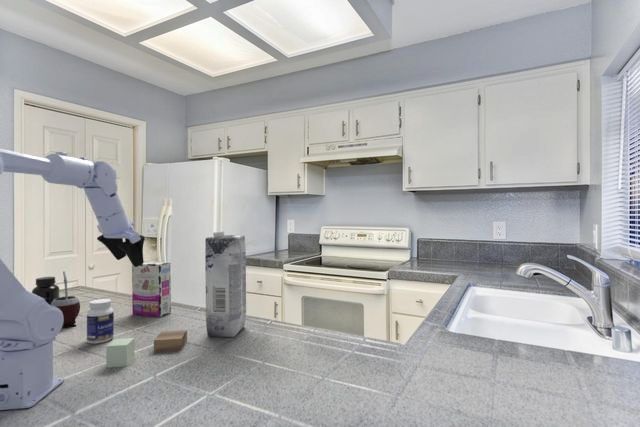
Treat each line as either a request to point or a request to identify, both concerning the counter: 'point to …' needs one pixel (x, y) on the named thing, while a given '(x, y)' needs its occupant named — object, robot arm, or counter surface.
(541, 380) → the counter surface
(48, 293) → the supplement bottle
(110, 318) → the pill bottle
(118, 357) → the sage block
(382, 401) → the counter surface
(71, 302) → the mate gourd
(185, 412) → the counter surface
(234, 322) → the juice carton
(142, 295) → the candy bar box
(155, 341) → the walnut block
